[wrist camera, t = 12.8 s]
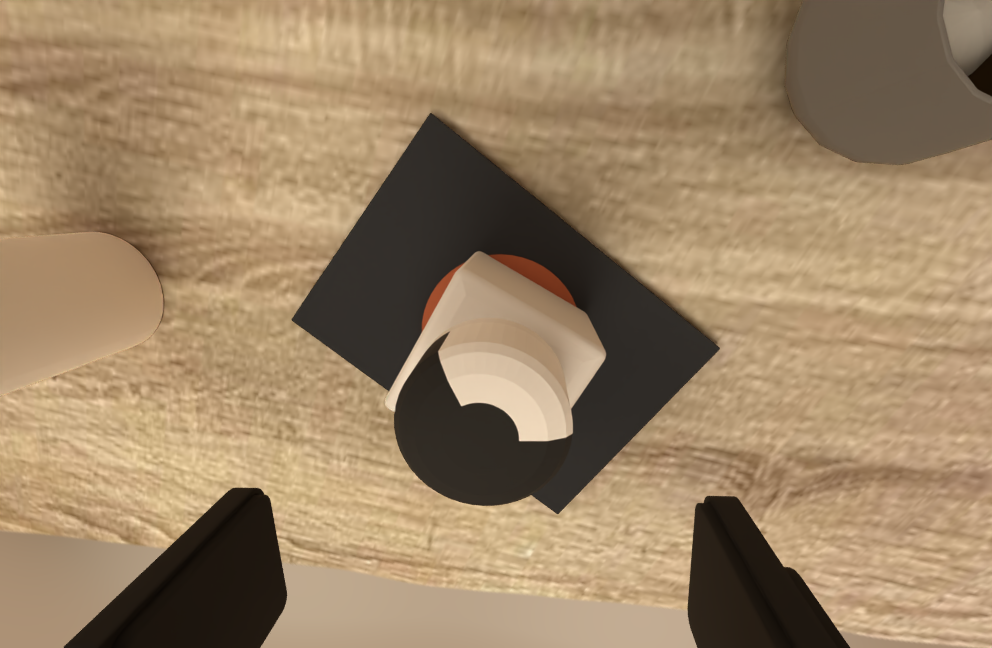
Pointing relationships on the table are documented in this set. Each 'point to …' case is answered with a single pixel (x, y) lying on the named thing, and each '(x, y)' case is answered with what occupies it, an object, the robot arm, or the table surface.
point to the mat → (523, 248)
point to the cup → (892, 76)
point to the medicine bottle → (493, 386)
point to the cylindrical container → (71, 303)
